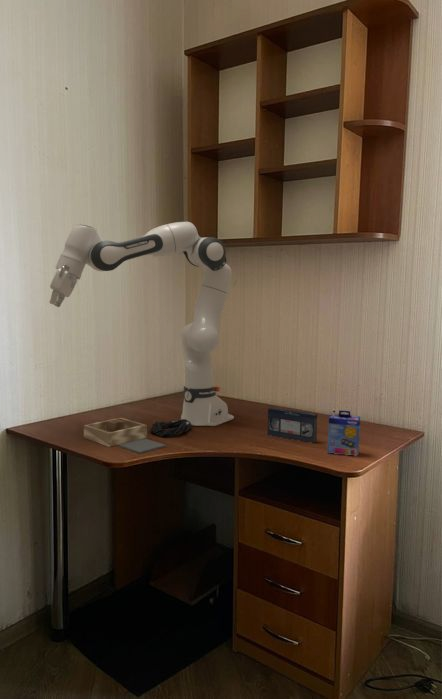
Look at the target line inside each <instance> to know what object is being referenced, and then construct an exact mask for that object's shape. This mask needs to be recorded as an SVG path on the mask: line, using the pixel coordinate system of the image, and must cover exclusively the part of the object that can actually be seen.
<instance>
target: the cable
mask: <svg viewBox="0 0 442 699" xmlns="http://www.w3.org/2000/svg"><path fill="white" fill-rule="evenodd" d="M186 422H189V424H187V423H186ZM192 426H193V425H191V423H190V421H188V420H186V419H181V418H180V419H178V420H174V421H168V422H167V421H161V422H159V421H155V423H152V426H151V427H150V432H152V433H153V434H154V435H156V436H158V437H166V438H170V437H171V438H172V437H175V436H178V435H179V434H181V433H184V432H186V433H187V432H188V431H190V429H192ZM164 428H165V429H164ZM166 428H167V429H166Z"/></svg>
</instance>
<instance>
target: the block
mask: <svg viewBox="0 0 442 699" xmlns="http://www.w3.org/2000/svg"><path fill="white" fill-rule="evenodd" d="M114 419H115V420H112V419H109V420H110V421H107V420H105V421H106V431H107V432H114V431H118V430H123V429H125V423H124V421H122V420H118V419H117V418H114Z"/></svg>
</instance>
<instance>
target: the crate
mask: <svg viewBox="0 0 442 699" xmlns="http://www.w3.org/2000/svg"><path fill="white" fill-rule="evenodd" d="M115 419H118V420H122V421H124V423H125V429H123V430H118V431H114V432H107V431H106V421H110V420H115ZM144 438H145V439H148V425H147V424H144V423H142V422H137V421H134V420H130V419H127V418H123V417H118V418H113V419H107V420H104V421H99V422H98V421H97V422H93V423H90V424H84V425H83V439H86V440H89V441H91V442H92V441H93V442H94V443H98V444H100V445H103V446H106V447H108V448H109V447H113V446H119V445H120V444H124V443H128V442H132V441H136V440H140V439H144Z"/></svg>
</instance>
